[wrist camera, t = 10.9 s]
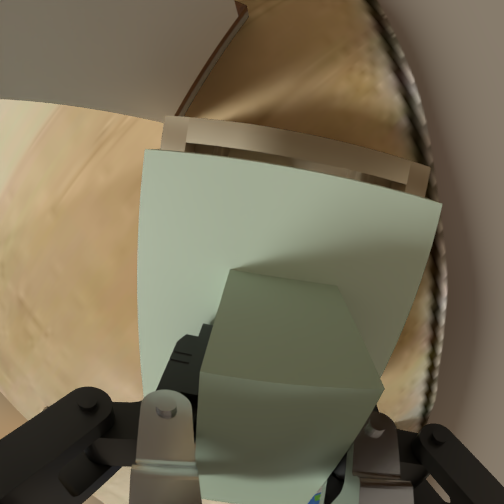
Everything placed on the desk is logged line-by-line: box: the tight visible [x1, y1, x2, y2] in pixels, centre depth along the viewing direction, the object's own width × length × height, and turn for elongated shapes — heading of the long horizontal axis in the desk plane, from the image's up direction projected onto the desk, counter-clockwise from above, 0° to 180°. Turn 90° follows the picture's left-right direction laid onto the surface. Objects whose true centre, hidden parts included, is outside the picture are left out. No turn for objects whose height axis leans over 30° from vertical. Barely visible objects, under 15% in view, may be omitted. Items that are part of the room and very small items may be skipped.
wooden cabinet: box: [160, 116, 431, 198], centre depth 20 cm, size 22×13×9 cm, turn 171°
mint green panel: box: [137, 149, 442, 504], centre depth 9 cm, size 13×10×6 cm
